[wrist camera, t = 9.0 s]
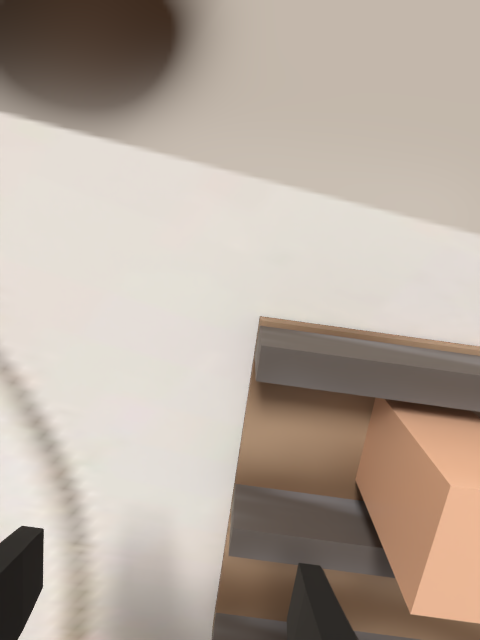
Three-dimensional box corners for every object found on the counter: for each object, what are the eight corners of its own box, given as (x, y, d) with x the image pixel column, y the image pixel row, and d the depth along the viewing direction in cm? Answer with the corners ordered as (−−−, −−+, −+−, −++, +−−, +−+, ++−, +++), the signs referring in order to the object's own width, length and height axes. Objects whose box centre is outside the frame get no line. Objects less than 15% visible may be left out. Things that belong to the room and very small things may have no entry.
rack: (476, 656, 23) (519, 738, 20) (213, 622, 23) (206, 697, 20) (588, 361, 19) (670, 395, 15) (260, 316, 19) (262, 339, 15)
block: (432, 490, 20) (528, 630, 13) (355, 479, 20) (410, 614, 13) (460, 401, 19) (580, 503, 12) (377, 389, 19) (450, 486, 12)
